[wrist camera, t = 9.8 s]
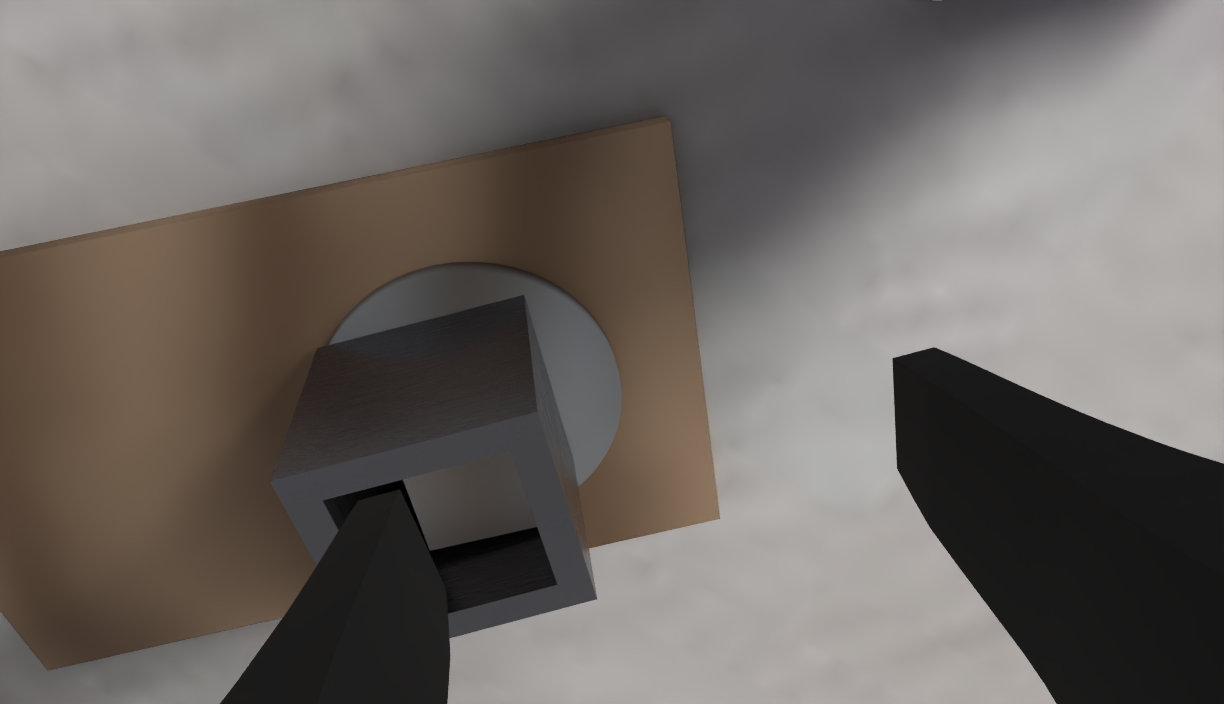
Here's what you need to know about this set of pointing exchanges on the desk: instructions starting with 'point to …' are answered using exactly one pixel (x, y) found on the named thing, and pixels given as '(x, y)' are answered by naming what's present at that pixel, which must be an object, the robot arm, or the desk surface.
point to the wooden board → (280, 361)
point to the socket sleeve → (444, 452)
